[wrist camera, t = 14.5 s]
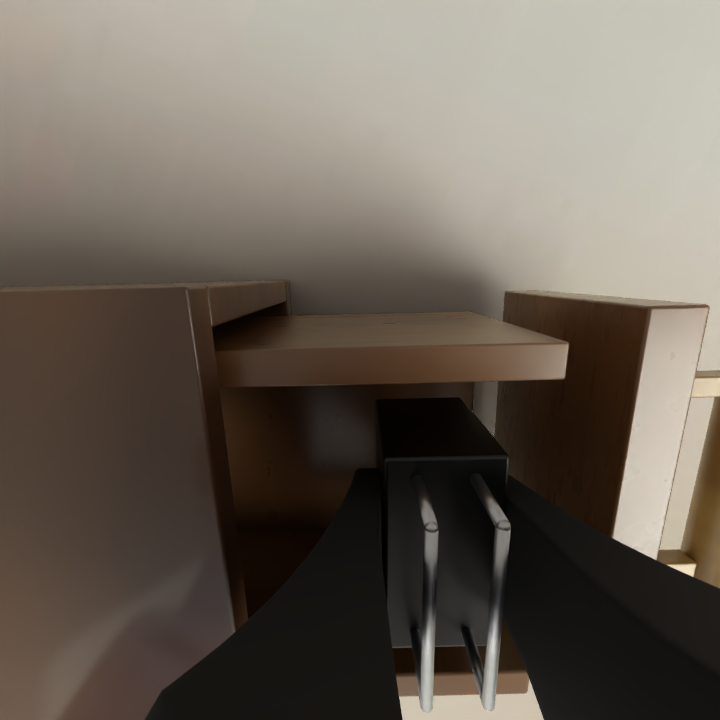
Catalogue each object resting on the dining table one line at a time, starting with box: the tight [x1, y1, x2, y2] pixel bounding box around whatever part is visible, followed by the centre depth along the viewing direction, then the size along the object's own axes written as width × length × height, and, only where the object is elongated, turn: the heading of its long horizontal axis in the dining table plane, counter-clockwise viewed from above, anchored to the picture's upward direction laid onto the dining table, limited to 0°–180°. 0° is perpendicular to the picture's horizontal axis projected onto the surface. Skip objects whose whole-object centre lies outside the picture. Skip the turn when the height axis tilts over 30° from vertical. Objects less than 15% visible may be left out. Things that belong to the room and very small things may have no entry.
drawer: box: [212, 290, 720, 697], centre depth 11 cm, size 18×11×7 cm, turn 91°
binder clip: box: [375, 397, 511, 713], centre depth 9 cm, size 3×5×5 cm, turn 1°
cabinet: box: [0, 280, 292, 720], centre depth 11 cm, size 15×12×9 cm
